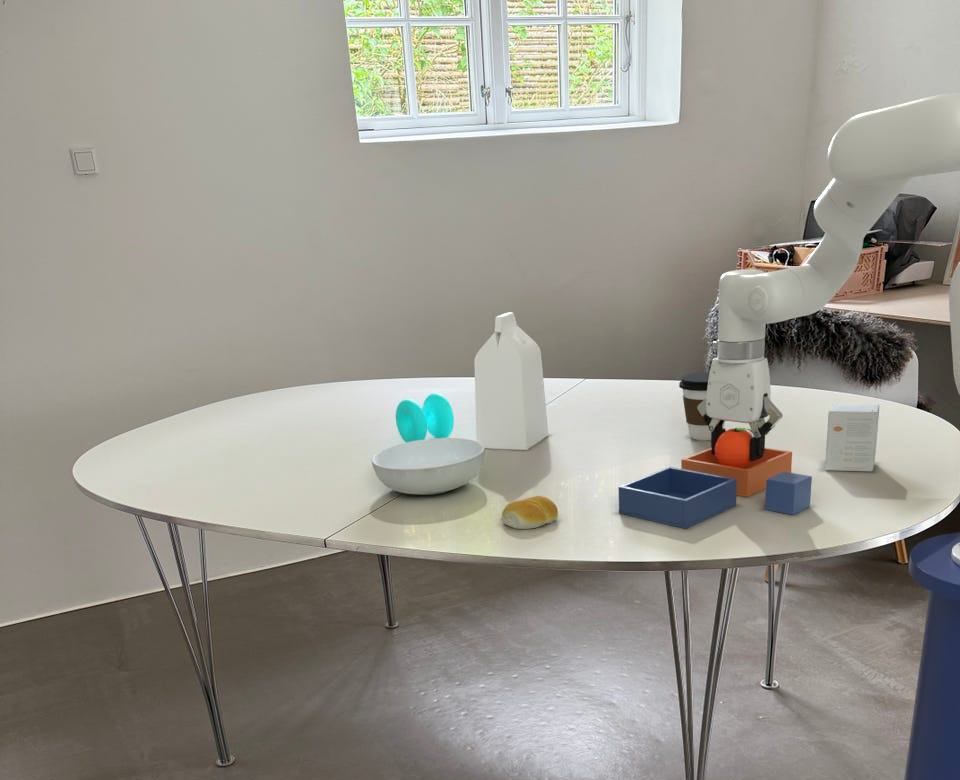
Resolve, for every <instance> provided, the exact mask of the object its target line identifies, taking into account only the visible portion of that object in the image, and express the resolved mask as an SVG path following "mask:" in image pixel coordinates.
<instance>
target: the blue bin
mask: <svg viewBox="0 0 960 780" xmlns="http://www.w3.org/2000/svg"><path fill="white" fill-rule="evenodd" d="M736 490H737V479H734V478H729V477H723V476H718V475H712V474H707V473H701V472H696V471H690V470H685V469H681V468H678V467H674V466H673V467H672V466H668V467H665V468H662V469H660V470H657V471H655V472H653V473H650V474H648V475H644V476H643V477H640V478H637V479H635V480H633V481H629V482H627V483H625V484H622V485H619V486H618V514H621V515H625V516H629V517H633V518H637V519H638V518H639V519H643V520H646V521H651V522H656V523H659V524H664V525H668V526H671V527H676V528H681V529H689V528H691V527H693V526H695V525H697V524H700V523H702V522H703V521H705V520H708V519H710V518H712V517H714V516H717V515H719V514H721V513H723V512H726V511H728V510H731V508H733V507H736V506H737V495H736Z"/></svg>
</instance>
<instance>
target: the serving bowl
mask: <svg viewBox="0 0 960 780" xmlns="http://www.w3.org/2000/svg"><path fill="white" fill-rule="evenodd" d="M485 451H486V448H484V446H483V445H482V444H481V443H479V442H477V440H475V439H470V438H459V437H447V438H425V439H424V440H418V441H412V442H407V443H406V442H403V443H399V444H395V445H391V446H389V447H387V448H384V449H382V450H380V451H378V452H376V453H375V454H374V455H373V456H372V458H371V465H372V468H373V471H374V473H375V476H376V477H377V478H378V481H380V483H382V484H383V485H384V486H385V487H387V488H388V489H390V490H392V491H395V492H398V493H402V494H408V495H416V496H433V495H441V494H444V493H447V492H449V491H450V492H451V491H452V490H455V489H458V488H461V487H463V486H465V485H466V484H468V483H469V482H471V481H472V480H473V479H475V478H476V476H477V475H478V474H479V472H480V471H481V470H482V467H483V465H484V461H485Z"/></svg>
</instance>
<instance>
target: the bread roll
mask: <svg viewBox="0 0 960 780" xmlns="http://www.w3.org/2000/svg"><path fill="white" fill-rule="evenodd" d="M558 516H559V511H558V506H557V504H556V503H555V502H553V501H552V500H551V499H550V498H548V497H546V496H542V495H536V496H531V497H526V498H524V499H520V500H519V499H518V500H515V501H511V502H509V503H508V504H506V506H505V507H504V509H503V510H502V512H501V520H502V522H503V524H504V525H505V526H508V527H510V528H513V529H517V530H531V529H536V528H540V527H542V526H544V525H546V524H552V523H553V522H555V521H556V520H557V518H558Z"/></svg>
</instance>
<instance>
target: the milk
mask: <svg viewBox="0 0 960 780" xmlns="http://www.w3.org/2000/svg"><path fill="white" fill-rule="evenodd" d="M494 319H495V321H494V332H493V333H492V335H491V336H490V337H489V338H488V339H487V340H486V341H485V342H484V344H483V345H482V347H480V349H479V350H478V351H477V353H476V355H475V357H474V362H473V363H474V366H473V367H474V394H475V395H474V396H475V397H474V398H475V427H476V428H475V432H476V433H475V435H476V441H477V442H479V443H481V444H482V445H483V446H484V448H485V449H494V450H495V449H496V450H516V451H518V450H519V451H528V450H529V449H531V448H532V447H533V446H535V445H537V444H538V443H539V442H541V441H542V440H544V439H546V438H547V437H548V436H549V427H548V417H547V416H548V415H547V404H546V403H547V402H546V394H545V382H544V381H545V380H544V372H543V362H542V361H543V360H542V352H541V348H540V346H539V345H538V343H537V342H536V341H535V340H534V339H533V338H532V337H530V335H528V334H527V333H526V332H525V331H524V330H523V329H522V328H521V327H520V326H518V323H517V319H516V316H515V313H514V312H506V313H505V312H504V313H502V314H500V315H497V316H495V318H494Z"/></svg>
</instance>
